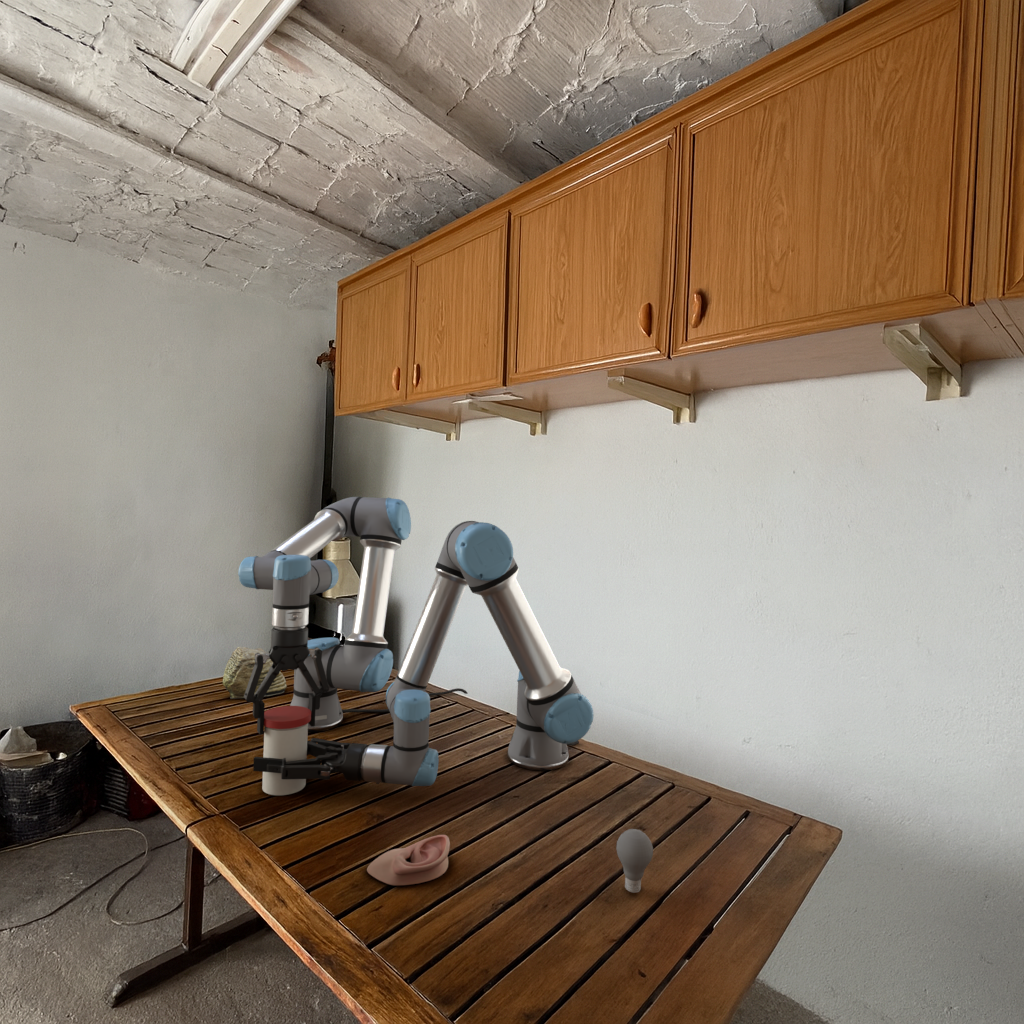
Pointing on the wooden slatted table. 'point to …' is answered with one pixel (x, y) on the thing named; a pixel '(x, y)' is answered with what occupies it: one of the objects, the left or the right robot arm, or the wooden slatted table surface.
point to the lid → (287, 717)
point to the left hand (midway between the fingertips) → (286, 728)
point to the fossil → (248, 673)
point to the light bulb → (634, 857)
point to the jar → (280, 747)
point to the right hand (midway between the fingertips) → (265, 754)
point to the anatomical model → (412, 862)
